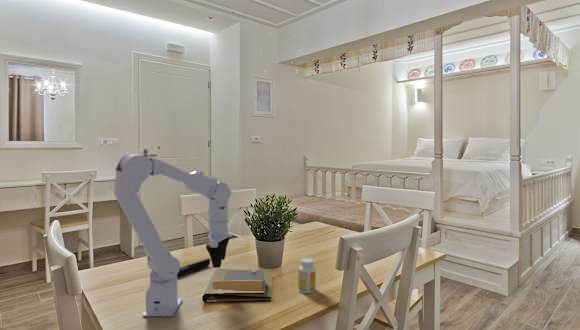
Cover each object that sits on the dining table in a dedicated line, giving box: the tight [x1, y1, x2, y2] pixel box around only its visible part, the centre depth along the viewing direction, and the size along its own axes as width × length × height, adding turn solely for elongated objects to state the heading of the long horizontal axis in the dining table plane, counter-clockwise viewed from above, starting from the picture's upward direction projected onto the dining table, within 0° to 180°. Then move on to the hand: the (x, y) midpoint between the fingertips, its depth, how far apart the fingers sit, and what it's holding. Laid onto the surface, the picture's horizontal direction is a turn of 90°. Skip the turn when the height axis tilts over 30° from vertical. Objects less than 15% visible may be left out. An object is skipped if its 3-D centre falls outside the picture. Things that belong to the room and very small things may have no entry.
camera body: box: [223, 269, 265, 280], centre depth 110 cm, size 9×12×4 cm
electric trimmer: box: [177, 258, 211, 279], centre depth 124 cm, size 4×16×3 cm, turn 141°
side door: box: [212, 279, 266, 292], centre depth 105 cm, size 1×16×4 cm, turn 91°
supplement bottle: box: [297, 257, 317, 294], centre depth 108 cm, size 5×5×10 cm
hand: (218, 263), depth 107 cm, fingers open, 6 cm apart
